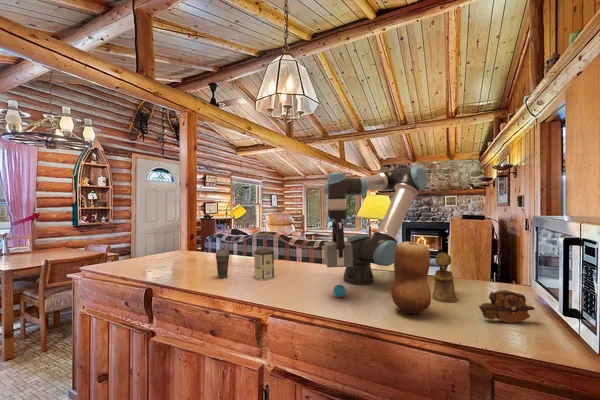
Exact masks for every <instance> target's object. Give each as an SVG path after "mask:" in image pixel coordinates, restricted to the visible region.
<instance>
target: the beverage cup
mask: <svg viewBox="0 0 600 400" xmlns="http://www.w3.org/2000/svg"><path fill="white" fill-rule="evenodd" d="M219 243H220V248H219V249H218V250H217V251H216V253H215V260H216V269H217V278H219V280H225V279H227V278H228V272H229V271H228V270H229V260H230V256H231V255H230V251H229V250H228V249H227V248H224V247H222V239H219ZM224 278H225V279H224Z"/></svg>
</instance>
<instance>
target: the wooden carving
mask: <svg viewBox="0 0 600 400" xmlns="http://www.w3.org/2000/svg"><path fill="white" fill-rule="evenodd" d="M488 299H489V300H490V302H483V303H481V304H480V305H478V308H479V309H480V312H481V313H482V317H483V318H485V319H487V320H489V321H491V320H495V319H497V320H499V321H501V322H504V323H508V324H509V323H510V324H511V323H512V324H513V323H514V324H515V323H520V322H524V321H525V320H527V319H529V318H530V317H531V314H530V313H529V311H535V309H536V307H534V306H530V305H528V304H527V303H526V302H527V299H526V297H525V295H524V294H521V293H520V292H518V293H517V292H515V291H510V290H507V289H502V290H501V289H499V290H497V291H494V292H493V291H490V293H489V295H488Z"/></svg>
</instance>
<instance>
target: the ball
mask: <svg viewBox="0 0 600 400" xmlns="http://www.w3.org/2000/svg"><path fill="white" fill-rule="evenodd" d="M346 291H347V290H346V288H345V286H344V285H342V284H337V285H335V286H334V287H333V294H334V296H336V297H337V298H342V297H344V296H345V295H346Z"/></svg>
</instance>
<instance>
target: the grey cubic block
mask: <svg viewBox="0 0 600 400" xmlns="http://www.w3.org/2000/svg"><path fill="white" fill-rule="evenodd" d="M323 243H324V244H323V245H324V246H323V248H324V249H323V250H324V251H323V252H324V263H325V265H326V267H327V268H344V267H345V268H346V267H353V252H352V244H351V243H349V242H348V241H347V240H344V243H345V248H344V265H341V266H337V249H336V247H337V241H333V242H332V241H324V242H323Z"/></svg>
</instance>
